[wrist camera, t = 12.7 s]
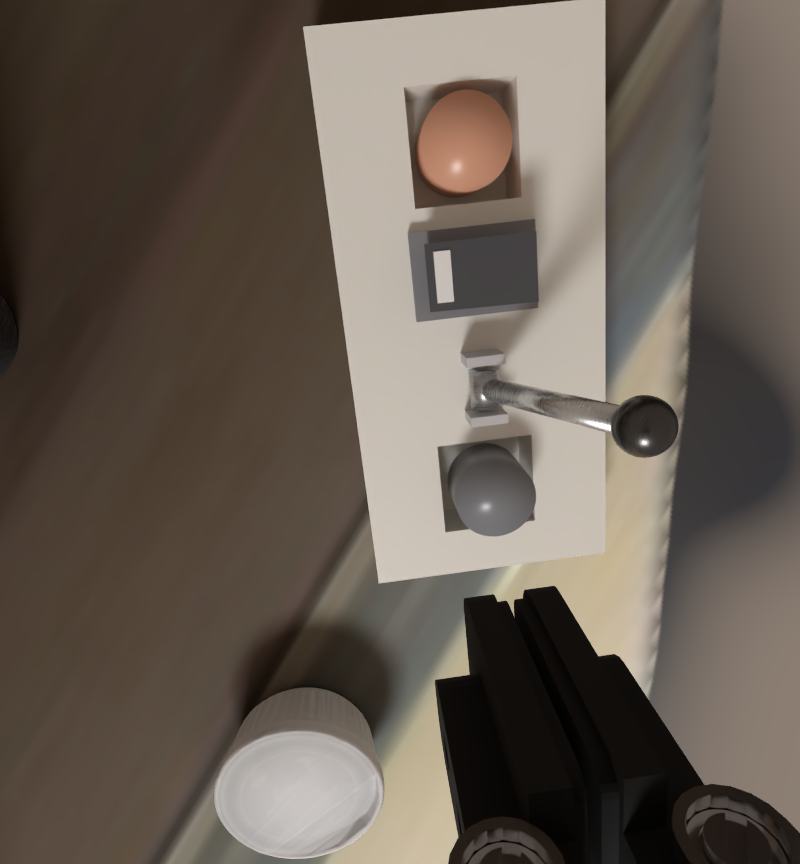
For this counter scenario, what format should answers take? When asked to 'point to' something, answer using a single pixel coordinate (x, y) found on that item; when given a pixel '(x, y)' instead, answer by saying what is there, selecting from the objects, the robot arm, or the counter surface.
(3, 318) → the travel mug
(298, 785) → the ramekin
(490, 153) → the terracotta button
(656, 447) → the toggle lever
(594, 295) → the control panel
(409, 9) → the counter surface
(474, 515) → the charcoal button
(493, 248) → the black rocker
